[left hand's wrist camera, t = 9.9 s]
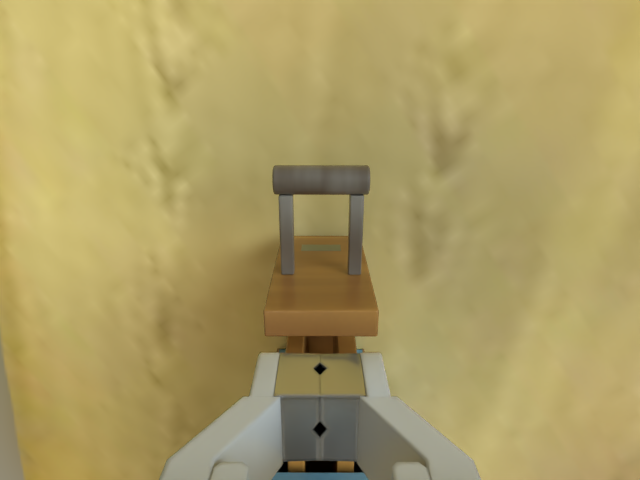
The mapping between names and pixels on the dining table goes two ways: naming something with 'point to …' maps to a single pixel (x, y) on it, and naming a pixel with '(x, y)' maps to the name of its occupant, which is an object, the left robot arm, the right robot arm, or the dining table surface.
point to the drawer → (321, 277)
